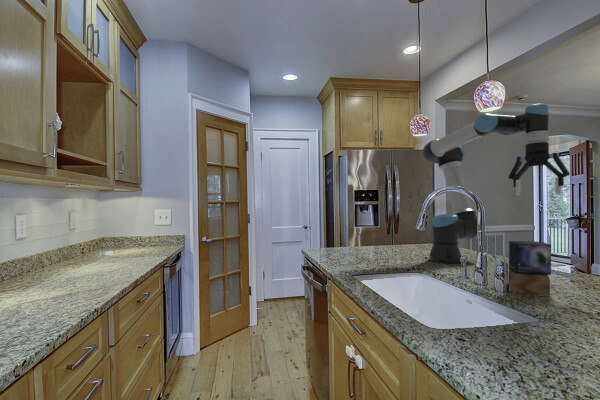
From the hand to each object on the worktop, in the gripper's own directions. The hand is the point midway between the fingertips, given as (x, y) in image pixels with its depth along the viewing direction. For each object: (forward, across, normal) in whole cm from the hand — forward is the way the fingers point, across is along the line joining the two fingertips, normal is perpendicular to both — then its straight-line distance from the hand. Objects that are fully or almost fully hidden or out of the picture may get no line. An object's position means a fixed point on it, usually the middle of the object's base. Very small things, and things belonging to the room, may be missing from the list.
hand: (537, 195), depth 125 cm
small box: (+27, +7, -25) cm, 37 cm away
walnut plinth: (+33, +6, -26) cm, 42 cm away
